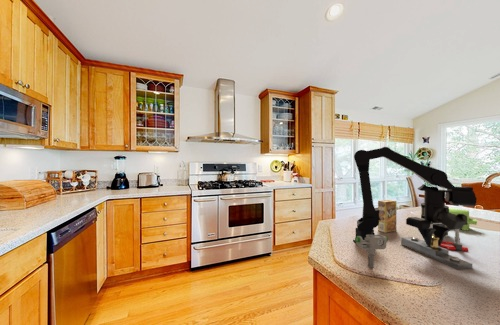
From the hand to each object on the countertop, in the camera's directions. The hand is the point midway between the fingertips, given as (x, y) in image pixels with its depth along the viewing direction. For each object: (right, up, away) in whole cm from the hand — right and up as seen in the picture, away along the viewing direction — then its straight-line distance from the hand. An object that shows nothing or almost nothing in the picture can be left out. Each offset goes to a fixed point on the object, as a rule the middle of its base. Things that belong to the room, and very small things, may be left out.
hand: (433, 245), depth 76 cm
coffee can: (+23, -5, +26) cm, 35 cm away
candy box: (+1, -4, +28) cm, 28 cm away
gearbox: (+44, -5, +37) cm, 57 cm away
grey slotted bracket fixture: (0, -4, 0) cm, 4 cm away
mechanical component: (-29, -3, -9) cm, 31 cm away
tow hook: (+15, -4, +9) cm, 18 cm away
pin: (0, -4, 0) cm, 4 cm away
